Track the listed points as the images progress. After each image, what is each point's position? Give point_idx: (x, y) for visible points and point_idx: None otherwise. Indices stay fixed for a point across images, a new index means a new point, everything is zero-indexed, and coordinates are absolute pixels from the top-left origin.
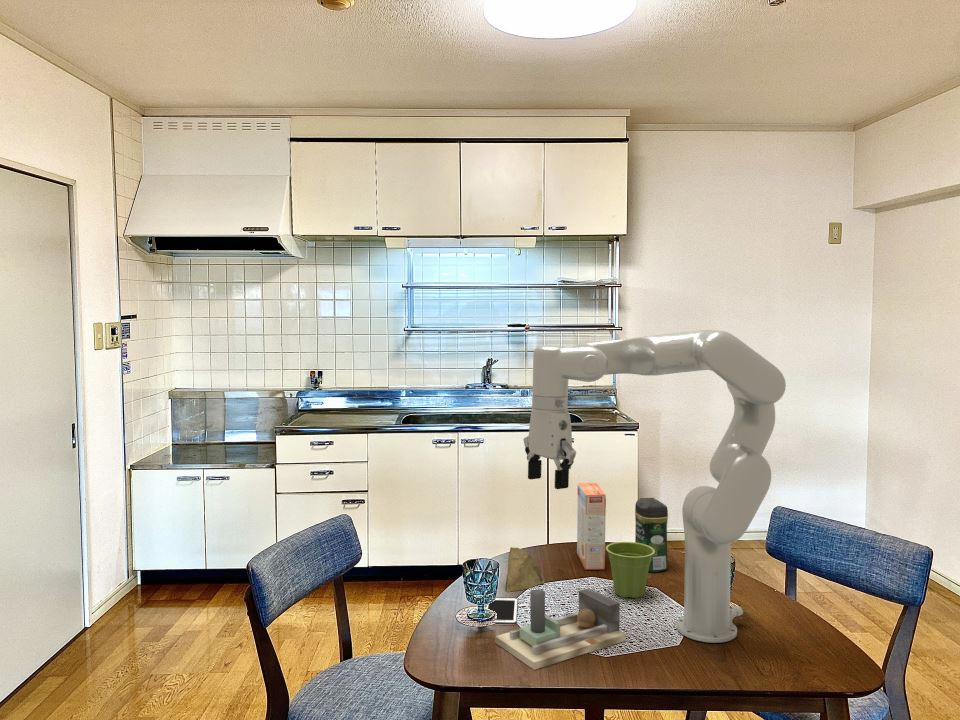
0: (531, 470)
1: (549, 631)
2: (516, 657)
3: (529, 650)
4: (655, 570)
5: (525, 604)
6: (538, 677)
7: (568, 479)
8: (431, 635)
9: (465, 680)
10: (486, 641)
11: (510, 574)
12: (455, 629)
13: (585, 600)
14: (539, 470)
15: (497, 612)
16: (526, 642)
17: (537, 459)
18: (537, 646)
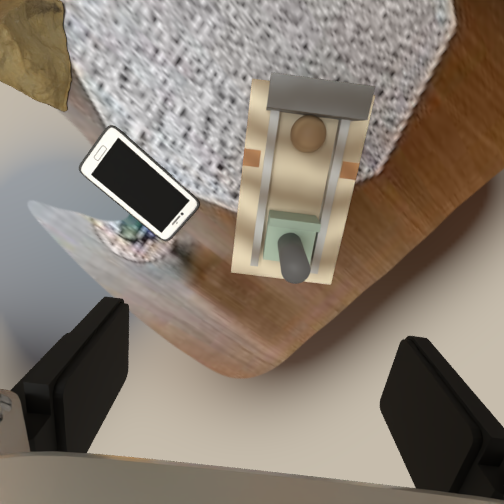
0: (104, 413)
1: (306, 233)
2: None
3: None
4: None
5: (137, 126)
6: (345, 288)
7: (454, 371)
8: (156, 316)
9: (287, 352)
10: (219, 273)
11: (35, 91)
12: (158, 281)
13: (289, 110)
14: (104, 345)
15: (147, 200)
16: None
17: (44, 437)
18: (317, 268)
